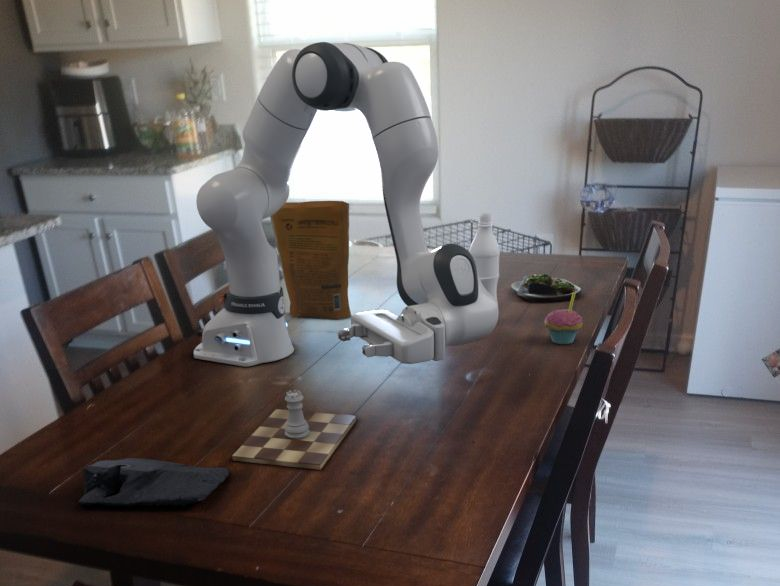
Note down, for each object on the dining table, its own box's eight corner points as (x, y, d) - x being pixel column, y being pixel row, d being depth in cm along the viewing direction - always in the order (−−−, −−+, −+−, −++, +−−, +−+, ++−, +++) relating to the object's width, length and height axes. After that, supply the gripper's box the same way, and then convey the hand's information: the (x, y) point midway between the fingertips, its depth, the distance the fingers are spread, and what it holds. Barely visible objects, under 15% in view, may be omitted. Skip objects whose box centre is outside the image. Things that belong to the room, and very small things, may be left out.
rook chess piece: (290, 442, 147) (286, 399, 143) (281, 432, 151) (276, 391, 147) (313, 436, 149) (310, 394, 145) (304, 427, 152) (300, 386, 148)
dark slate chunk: (201, 518, 128) (197, 491, 125) (70, 507, 132) (63, 481, 129) (237, 471, 141) (233, 446, 138) (116, 463, 145) (110, 438, 142)
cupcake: (585, 337, 192) (590, 285, 186) (576, 349, 186) (580, 295, 179) (548, 333, 195) (552, 281, 189) (538, 344, 189) (541, 291, 183)
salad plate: (497, 285, 230) (498, 268, 228) (558, 279, 233) (560, 262, 231) (522, 305, 214) (523, 287, 211) (587, 299, 217) (589, 281, 215)
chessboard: (232, 460, 144) (231, 455, 144) (276, 413, 161) (276, 408, 160) (320, 470, 140) (320, 464, 140) (356, 420, 157) (356, 415, 156)
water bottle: (496, 327, 200) (499, 218, 187) (466, 326, 201) (467, 217, 188) (498, 318, 206) (502, 211, 193) (469, 317, 207) (471, 211, 194)
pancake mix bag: (351, 322, 206) (344, 203, 191) (278, 318, 210) (266, 201, 196) (359, 314, 212) (353, 197, 197) (288, 310, 216) (277, 196, 201)
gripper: (390, 298, 159) (324, 310, 154) (449, 327, 144) (378, 342, 138) (391, 330, 162) (326, 343, 157) (448, 362, 147) (379, 378, 142)
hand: (351, 343), depth 147 cm, fingers open, 8 cm apart
